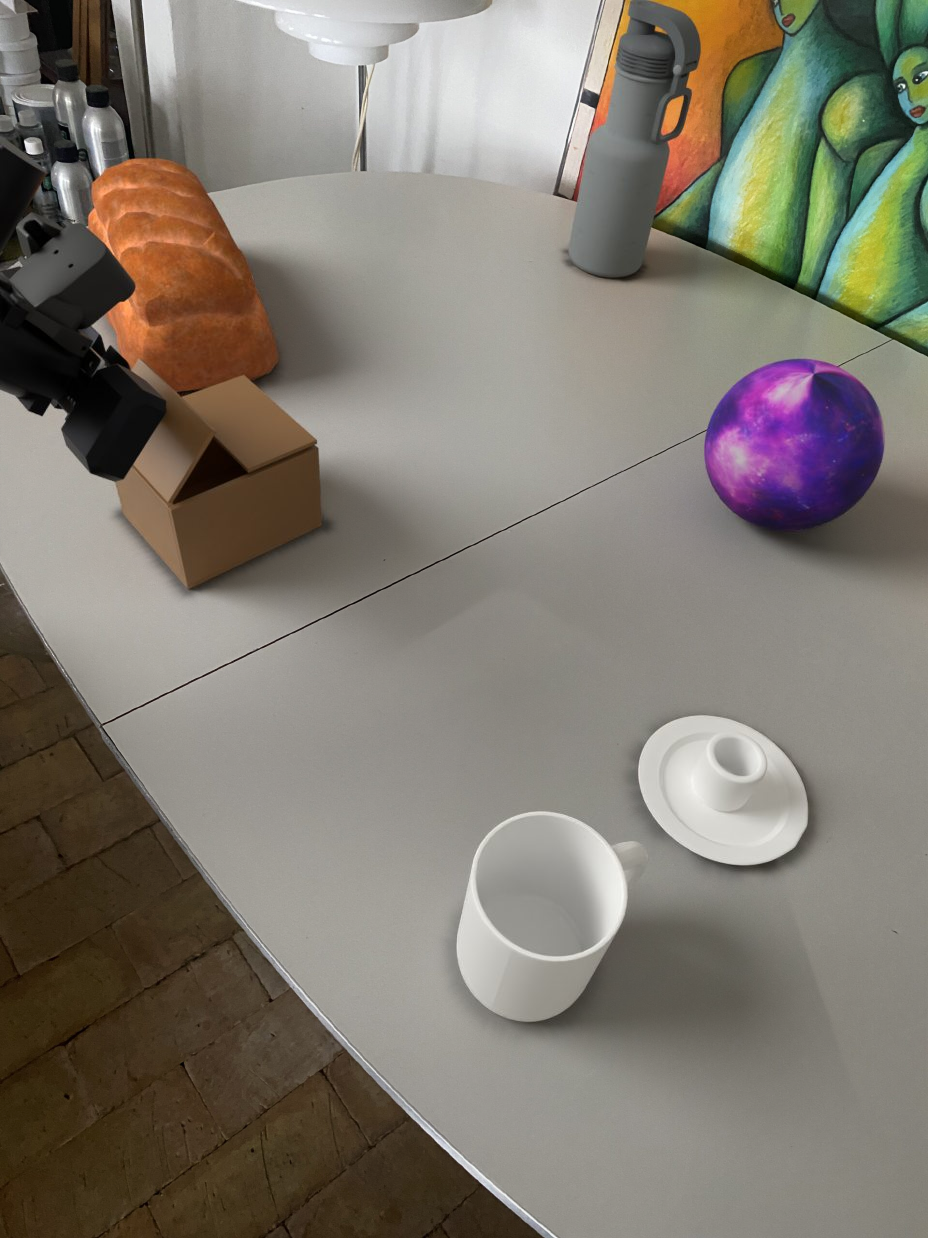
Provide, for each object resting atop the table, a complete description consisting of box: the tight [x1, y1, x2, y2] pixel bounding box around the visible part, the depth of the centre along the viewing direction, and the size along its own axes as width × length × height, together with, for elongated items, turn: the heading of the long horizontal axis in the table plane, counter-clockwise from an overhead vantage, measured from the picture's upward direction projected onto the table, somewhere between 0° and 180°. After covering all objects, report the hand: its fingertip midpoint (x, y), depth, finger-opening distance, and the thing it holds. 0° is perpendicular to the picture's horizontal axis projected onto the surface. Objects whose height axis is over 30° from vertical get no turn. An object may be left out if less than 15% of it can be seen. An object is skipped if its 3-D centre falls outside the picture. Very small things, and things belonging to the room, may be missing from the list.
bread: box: [87, 157, 280, 393], centre depth 92 cm, size 16×31×13 cm, turn 24°
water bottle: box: [568, 0, 702, 279], centre depth 103 cm, size 10×10×28 cm
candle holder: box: [637, 714, 809, 866], centre depth 60 cm, size 12×12×4 cm
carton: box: [114, 375, 323, 590], centre depth 72 cm, size 13×11×9 cm
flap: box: [132, 358, 216, 504], centre depth 65 cm, size 6×11×1 cm
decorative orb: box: [703, 358, 886, 532], centre depth 78 cm, size 15×15×15 cm
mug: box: [456, 810, 649, 1023], centre depth 50 cm, size 12×8×10 cm
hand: (161, 412), depth 65 cm, fingers closed, pressing on flap
